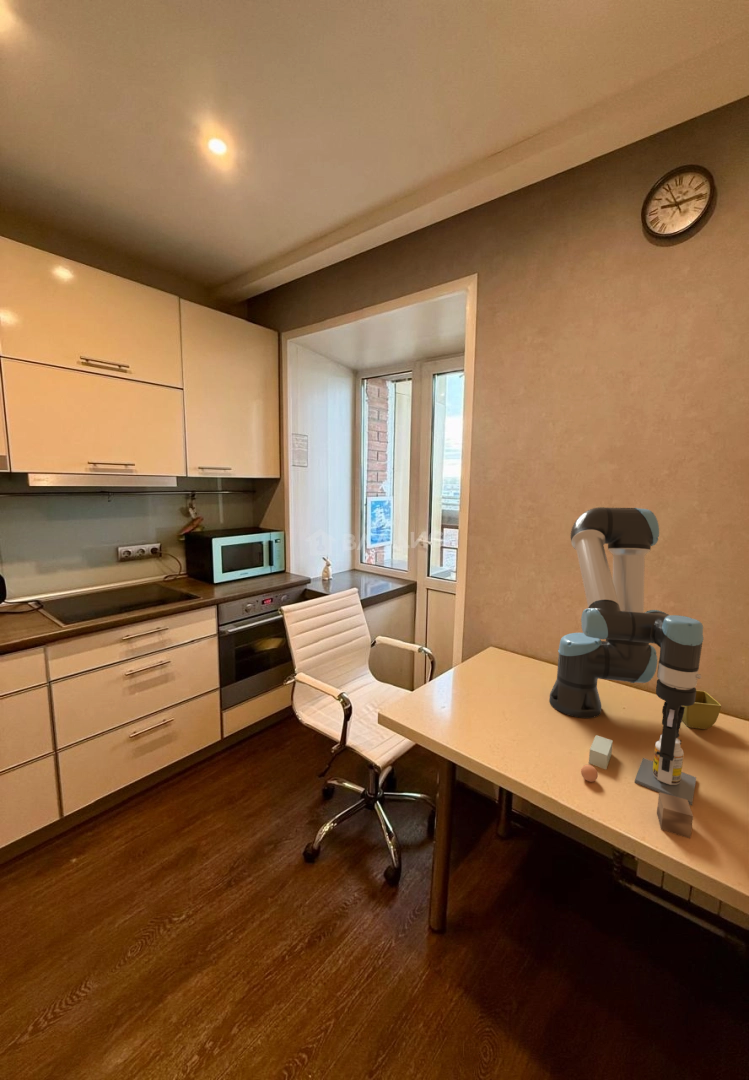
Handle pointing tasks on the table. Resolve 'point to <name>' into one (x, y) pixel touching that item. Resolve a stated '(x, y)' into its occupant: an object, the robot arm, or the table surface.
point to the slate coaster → (650, 781)
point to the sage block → (600, 752)
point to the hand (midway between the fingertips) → (666, 774)
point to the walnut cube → (674, 815)
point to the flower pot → (701, 711)
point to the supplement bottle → (677, 761)
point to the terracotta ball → (589, 773)
